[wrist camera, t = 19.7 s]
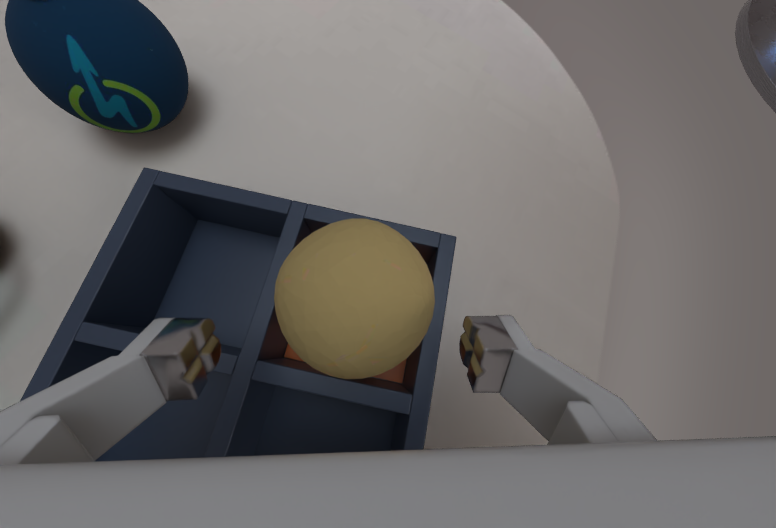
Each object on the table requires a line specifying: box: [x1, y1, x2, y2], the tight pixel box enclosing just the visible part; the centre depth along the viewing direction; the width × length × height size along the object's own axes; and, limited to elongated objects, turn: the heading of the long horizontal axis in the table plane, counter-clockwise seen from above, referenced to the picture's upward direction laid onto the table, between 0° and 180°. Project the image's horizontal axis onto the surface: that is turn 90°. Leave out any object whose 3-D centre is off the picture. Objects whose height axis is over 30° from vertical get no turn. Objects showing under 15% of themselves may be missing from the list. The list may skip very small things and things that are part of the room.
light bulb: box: [274, 218, 435, 379], centre depth 14 cm, size 6×6×10 cm
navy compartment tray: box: [20, 168, 456, 462], centre depth 16 cm, size 18×18×5 cm
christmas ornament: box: [5, 0, 188, 133], centre depth 18 cm, size 8×8×10 cm
